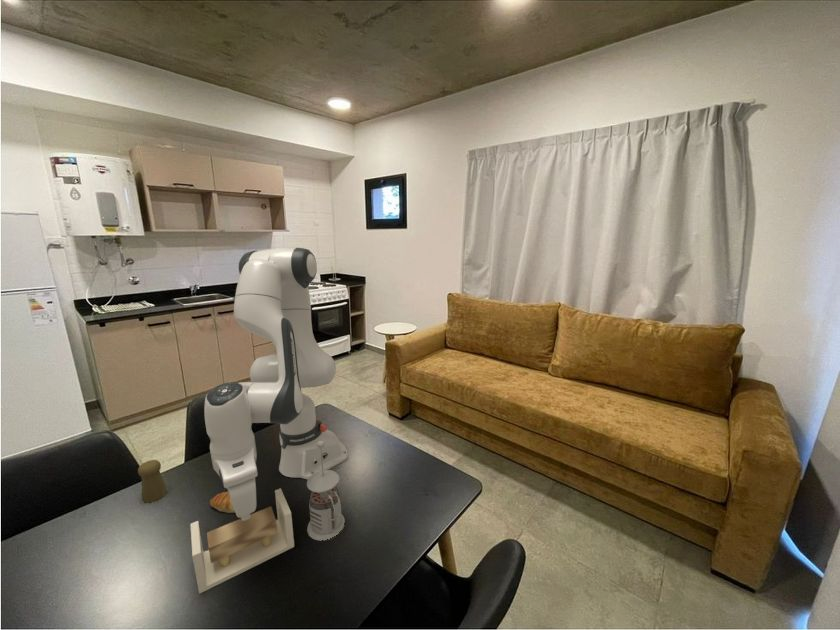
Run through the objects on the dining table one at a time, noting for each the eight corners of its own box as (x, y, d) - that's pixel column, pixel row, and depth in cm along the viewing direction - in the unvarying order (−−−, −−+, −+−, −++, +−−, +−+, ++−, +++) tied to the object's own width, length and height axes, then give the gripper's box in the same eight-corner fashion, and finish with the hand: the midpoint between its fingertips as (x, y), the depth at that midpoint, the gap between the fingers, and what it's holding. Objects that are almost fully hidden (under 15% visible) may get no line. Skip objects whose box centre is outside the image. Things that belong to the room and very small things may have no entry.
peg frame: (283, 519, 92) (280, 488, 90) (294, 546, 84) (291, 512, 82) (196, 558, 81) (190, 523, 79) (199, 593, 73) (192, 556, 71)
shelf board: (272, 519, 88) (271, 506, 87) (277, 532, 84) (275, 519, 83) (209, 546, 80) (206, 532, 79) (210, 563, 76) (208, 548, 75)
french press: (333, 504, 98) (328, 426, 92) (356, 529, 90) (352, 444, 84) (300, 524, 91) (293, 441, 85) (322, 552, 83) (315, 462, 77)
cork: (153, 505, 97) (147, 471, 95) (136, 501, 98) (129, 468, 96) (172, 490, 103) (166, 458, 100) (156, 487, 104) (149, 455, 102)
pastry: (204, 512, 95) (202, 501, 94) (220, 495, 101) (218, 484, 101) (236, 515, 94) (235, 503, 93) (250, 497, 101) (249, 485, 100)
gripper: (213, 435, 83) (221, 482, 87) (224, 487, 67) (233, 542, 71) (242, 427, 87) (248, 472, 90) (258, 474, 71) (266, 527, 74)
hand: (242, 504), depth 80 cm, fingers open, 8 cm apart
